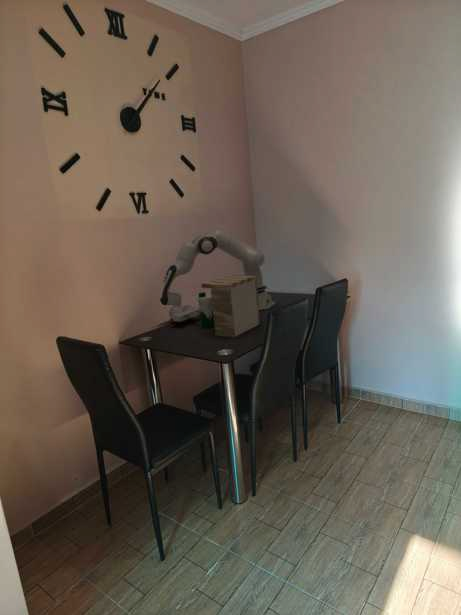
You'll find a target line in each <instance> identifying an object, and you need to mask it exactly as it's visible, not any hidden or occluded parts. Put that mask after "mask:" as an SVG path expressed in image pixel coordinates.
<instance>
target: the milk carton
mask: <svg viewBox="0 0 461 615" xmlns="http://www.w3.org/2000/svg"><path fill="white" fill-rule="evenodd" d="M197 302H198V307H199V310H200V314H199V316H200V317H199V318H200V325H201V328H202V329H207V328H208V329H213V328H214V329H215V324H214V315H213V306H212V297H211V294H206V292H204V291H203V292H199V293H198V297H197Z"/></svg>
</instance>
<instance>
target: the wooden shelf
mask: <svg viewBox="0 0 461 615" xmlns="http://www.w3.org/2000/svg"><path fill="white" fill-rule="evenodd" d="M200 285H201V288H203V289H210V295H211V297H212V306H213V315H214V324H215V327H214V331H215V332H214V333H215V336H218V337H220V336H221V337H226V338H235V337H238V336H240V335H242V334H244V333H245V332H247V331H250V330H251V329H254V328H255V327H257V326H259V325H261V318H260V317H261V316H260V310H259V304H258V292H257V281H256V276H245V274H244V275H241V274H240V275H238V274H237V275H235V274H234V275H232V274H231V275H230V274H229V275H227V276H224V277H220V278H217V279H213V280H210V281H207V282H204V283H203V282H202V283H201V284H200Z"/></svg>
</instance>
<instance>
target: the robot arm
mask: <svg viewBox="0 0 461 615" xmlns="http://www.w3.org/2000/svg"><path fill="white" fill-rule="evenodd" d="M216 249H219V250H221V251H223V252H224V253H226V254H227V255H230V256H231V257H233V258H235V259H236V260H239V261H240V262H241V263H242V267H243V271H244V275H245V276H256V281H257V292H258V304H259V311H260V310H267V309H268V310H269V309H271V307H273V306H274V305H276V302H275V301H273V300H272V296H271V295H270V294H269V293H267V291H266V290H265V289H267V288H268V286H267V285H264V280H263V279H264V278H263V273H262V271H261V268H260V267H261V266H263V264H264V263H265V260H266V259H265V255H264V253H262V251H260V250H259V249H256V248H255V247H253V246H251V245H250V244H247V243H245V242H243V240H240V239H239V238H237V237H235V236H233V235H231V234H230V233H228V232H225V231H224V230H220V229H216V230H214V231H213V232H212V233H211V235H210V236H207V235H200V236H197V237H196V238H195V239H194V240H192V241H191V242H189V241H186V242H184V243H182V245H181V247H180V248H179V251H178V254H177V256H176V258H175V260H174V262H173V264H172V265H169V268H168V269H167V270H168V271H166V272H167V273H165V274H166V277H165V276H164V277H165V280H164V286H163V291H162V293H161V298H160V301H161V303H162V304H163V305H173V307H172V308H171V309H170V311H169V316H170V319H173V320H172V321H174V322H179V323H181V322H183V321H186V320H188V319H191V318H197V317H199V316H200V310H199V306H198V307H197V306H191V305H185V306H181V305H182V295H181V293H179V292H178V293H179V294H178V293H172V292H169V291H170V288H171V286H172V284H173V282H174V280H175V279H176V278H177V277H179V276H182V275H186V274H188V273H189V272H191V270H192V269H193V266H194V263H195V260H196V258H197V256H198V255H199V254H202V255H210V254H212V253H213V252H214V250H216Z"/></svg>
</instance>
